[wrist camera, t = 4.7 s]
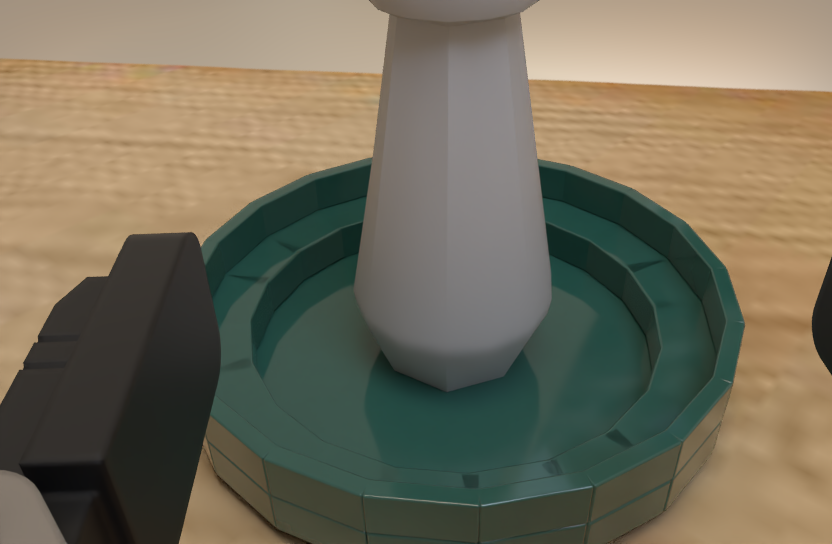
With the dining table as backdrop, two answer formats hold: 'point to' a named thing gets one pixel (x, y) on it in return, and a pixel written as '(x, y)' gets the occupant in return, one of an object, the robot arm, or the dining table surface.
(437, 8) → the salt shaker
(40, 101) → the dining table surface
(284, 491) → the teal round dish
